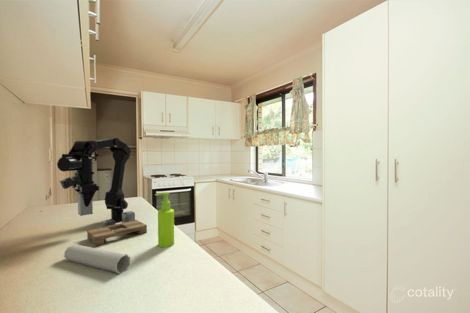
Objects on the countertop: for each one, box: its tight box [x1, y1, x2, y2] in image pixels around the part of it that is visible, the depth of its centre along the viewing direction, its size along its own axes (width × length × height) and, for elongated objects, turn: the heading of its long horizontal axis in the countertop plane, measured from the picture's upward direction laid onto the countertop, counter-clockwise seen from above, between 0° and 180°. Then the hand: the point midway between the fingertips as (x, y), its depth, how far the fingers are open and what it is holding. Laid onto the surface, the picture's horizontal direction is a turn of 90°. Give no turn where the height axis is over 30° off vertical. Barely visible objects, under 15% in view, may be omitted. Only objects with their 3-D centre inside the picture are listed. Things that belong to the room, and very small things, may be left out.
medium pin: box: [121, 210, 136, 223], centre depth 112 cm, size 4×4×6 cm
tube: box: [63, 243, 131, 275], centre depth 73 cm, size 5×5×25 cm
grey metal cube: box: [101, 218, 116, 227], centre depth 105 cm, size 4×4×4 cm
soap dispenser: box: [154, 191, 175, 248], centre depth 88 cm, size 6×7×20 cm
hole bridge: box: [86, 219, 148, 247], centre depth 97 cm, size 11×20×4 cm, turn 136°
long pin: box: [77, 192, 94, 217], centre depth 99 cm, size 4×4×9 cm
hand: (85, 205), depth 99 cm, fingers closed on long pin, 4 cm apart
